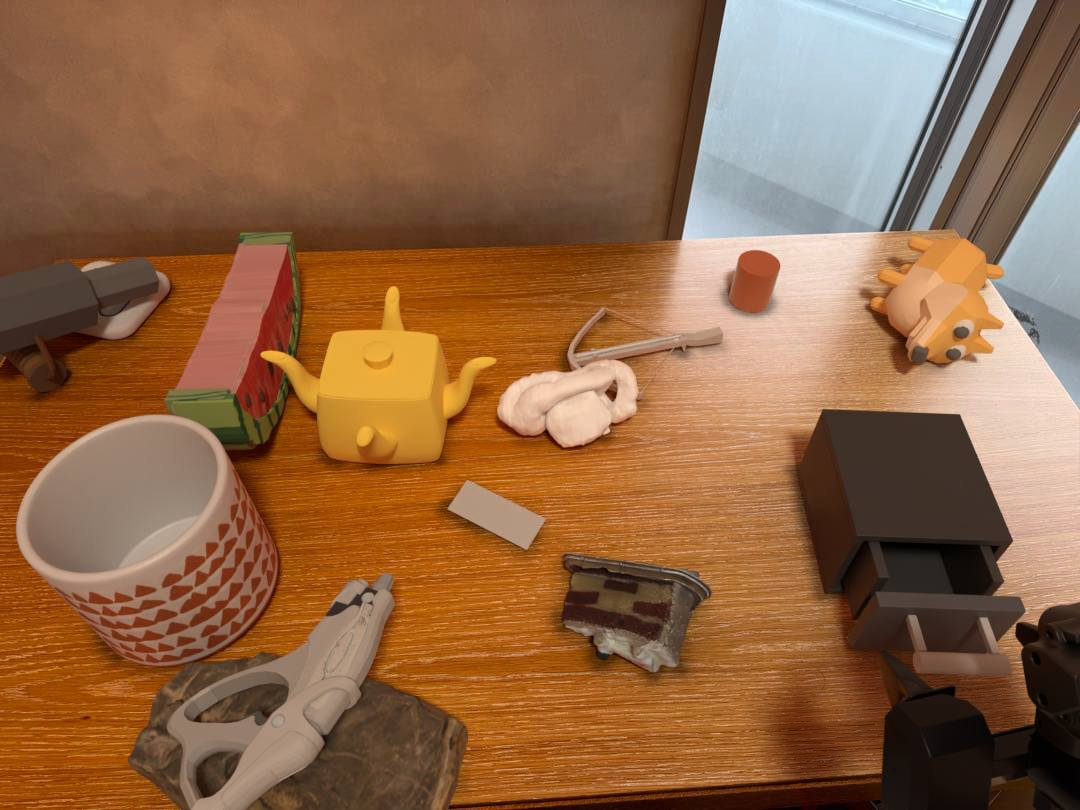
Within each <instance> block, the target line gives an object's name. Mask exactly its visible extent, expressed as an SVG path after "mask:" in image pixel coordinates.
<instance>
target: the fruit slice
mask: <svg viewBox="0 0 1080 810" xmlns="http://www.w3.org/2000/svg"><path fill="white" fill-rule="evenodd" d="M237 239H238V246H237V249H236V252H235V255H234V258H233V261H232V263H231V267H230V269H229V271H228V273H227V275H226V277H225V279H224V281H223V282H224V283H223V286H222V288H221V290H220V293H219V295H218V297H217V299H215V300H214V302H213V303H212V304H211V306H210V310H209V314H208V317H207V320H206V324H205V325H204V327H203V330H202V332H201V334H200V337H199V339H198V341H197V343H196V345H195V347H194V349H193V350H192V353H191V355H190V357H189V358H188V361H187V363H186V365H185V368H184V370H183V372H182V375H181V376H180V379H179V381H178V383H177V384H176V386H175V388H174V389H169V390H168V392H167V394H166V396H165V398H164V400H163V401H164V403H165V404H164V405H165V406H166V409H167V411H168V413H169V415H173V416H179V417H184V418H187V419H190V420H193V421H195V422H197V423H199V424H201V425H203V426H204V427H206V428H207V429H209V430H210V431H211V432H212V433H213V434H214V435H215V436H216V437H217V438H218V440H219V441H220V443H221V444H222V446H223V448H224V449H225V451H247V450H248V451H249V450H250V451H251V450H254V449H255V448H256V447H258V445H264V444H265V443H266V441H269V439H270V436H271V433H272V430H273V429H274V428H275V426H276V425H277V423H278V421H279V420H280V418H281V416H282V413H283V411H284V407H285V404H286V401H287V397H288V393H289V391H290V390H289V389H290V386H291V381H290V379H289V378H288V376H287V374H286V373H285V372H284V371H283V370H282V369H281V368H280V367H279V366H277V365H276V364H274V363H272V362H270V361H267V360H265V359H264V358H262V357H261V356H260V354H261V353H262V352H264V351H278V352H283V353H286V354H288V355H290V356H292V357H293V358H295V359H296V356H297V355H296V354H297V344H298V339H299V331H300V322H301V306H302V305H301V302H302V301H301V286H300V284H301V283H300V275H299V266H298V258H297V251H296V246H295V240H294V235H293V231H272V232H271V231H268V232H264V231H263V232H240V234H239V235H238V238H237Z"/></svg>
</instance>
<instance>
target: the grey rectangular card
mask: <svg viewBox="0 0 1080 810" xmlns="http://www.w3.org/2000/svg"><path fill="white" fill-rule="evenodd" d="M447 510H448V511H450V512H451V513H454V514H456V515H457V516H459V517H461V518H463V519H465V520H467V521H469V522H471V523H473V524H475V525H477V526H478V527H481V528H483V529H485V530H487V531H488V532H490V533H493V534H495V535H497V536H499V538H500V537H501V538H502V539H504V540H505V541H508V542H510V543H512V544H513V545H516V546H518V547H520V548H522V549H524V550H526V551H528V549H529V548H530V546H531V545H532V543H533V541H534V539H535V538H536V536H537V535H538V533H539V531H540V529H541V528H542V527H543V524H545V521H546V520H547V518H545V517H543V516H542V515H539V514H537V513H536V512H533V511H531V510H529V509H527V508H526V507H523V506H521V505H519V504H518V503H516V502H513V501H512V500H509V499H507V498H505V497H503V496H501V495H499V494H496V493H495V492H493V491H491V490H489V489H486V487H483V486H481V485H479V484H476V483H474V482H472V481H471V480H469V479H467V480H466V481H465V482H464V484H463V485H462V487H461V488H460V489H459V491H458V492H457V494H456V495H455V497H454V498H453V500H452V501H451V502H450V504H449V506H448V507H447Z"/></svg>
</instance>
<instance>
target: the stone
mask: <svg viewBox="0 0 1080 810" xmlns="http://www.w3.org/2000/svg"><path fill="white" fill-rule="evenodd" d="M278 658H280V657H279V656H276V655H274V654H272V653H269V652H265V651H259V652H258V653H257V654H256V656H253V657H252V656H251V657H250V656H249V657H248V656H246V657H242V658H238V659H233V658H230V659H226V660H221V661H216V662H202V661H195V662H191V663H188V664H184V666H183V667H182V668H181V669H180V670H179V671H177V673H176V674H175V675H174V676H173V677H172V678H170V679H169V680H168V681H167V682H165V683H164V684H163V685H162V686H161V688H160V689H159V690H157V692H156V694H155V696H154V698H153V700H152V704H151V707H150V716H149V720H148V724H147V725H146V726H145V727H144V728H143V729H141V731H140V732H139V734H138V735H137V738H136V740H135V742H134V745H133V748H132V750H131V753H130V755H129V756H128V757H127V763H128V765H129V766H130V767H131V769H133V771H135V772H136V773H137V774H139V775H141V776H142V777H144V778H145V779H147V780H148V781H149V782H151V783H152V784H153V785H154V786H155V787H156V788H157V789H158V790H160V791H161V792H162V793H163V794H165V796H166V797H167V798H168V799H169V800H170V801H171V802H172V803H173V804H174V805H175V806H177V808H179V809H180V810H190V808H189V806H188V803H187V801H186V799H185V796H184V794H183V792H182V789H181V787H180V770H181V762H182V757H183V747H182V744H181V743H180V742H178V741H177V740H176V739H174V738H173V737H172V736H171V735H170V733H169V732H168V730H167V723H168V720H169V718H170V717H171V715H172V714H173V713H174V712H175V711H176V710H177V709H178V708H179V707H180V706H181V705H183V704H184V703H185V702H186V701H187V700H189V699H190V698H192V697H193V696H194V695H196V694H197V693H199V692H200V691H201V690H203V689H205V688H207V687H209V686H210V685H212V684H214V683H216V682H218V681H220V680H222V679H224V678H226V677H228V676H230V675H233V674H235V673H237V672H240V671H243V670H246V669H249V668H252V667H254V666H258V665H261V664H265V663H268V662H271V661H274V660H276V659H278ZM359 690H360V692H361V697H360V698H359V700H358V701H357V703H356V704H355V705H354V706H352V707H351V708H349V709H347V710H344V712H343V713H342V715H341V716H340V718H339V719H338V721H337V722H336V723H335V725H334V726H333V728H332V729H331V731H330V732H329V734H327V735H321V737H322V738H323V740H324V742H325V744H324V746H323V747H322V749H321V750H320V752H319V753H318V755H317V757H316V758H315V759H314V761H313V762H312V763H310V764H309V765H308V766H306V767H305V768H304V769H302V770H300V771H298V772H297V773H295V774H293V775H291V776H289V777H287V778H285V779H284V780H282V781H281V782H279V783H278V784H276V785H275V786H273V787H271V788H270V789H269V790H268V791H266V792H265V793H264V794H263V795H262V796H261V797H259V798H258V799H257V800H256V801H255V802H253V803H252V804H251V805H250V806H249V807H248V808H247V809H246V810H449V809H450V805H451V802H452V800H453V798H454V795H455V792H456V789H457V785H458V781H459V774H460V771H461V768H462V765H463V762H464V756H465V753H466V750H467V747H468V741H469V733H468V729H467V726H466V725H465V724H464V723H462V721H460V719H457V718H456V717H454V716H452V715H451V714H448V713H447V712H445V711H444V710H441V708H438V707H436V706H435V705H433V704H431V703H430V702H427V701H425V700H423V699H421V698H420V697H419V696H417V695H414V694H411V693H409V692H405V691H402V690H400V689H397V688H396V687H395V686H392V685H391V684H388V683H385V682H381V681H377V680H374V679H371V678H369V677H367V676H366V677H365V679H364V681H363V682H362V684H361V686H360V687H359ZM288 693H289V688H288V687H287V686H285V685H282V684H274V683H270V684H262V685H257V686H254V687H251V688H248V689H245V690H242V691H239V692H237V693H234V694H232V695H229V696H227V697H226V698H224V699H222V700H220V701H218V702H216V703H215V704H213V705H212V706H210V707H208V708H207V709H205V710H204V711H202V712H201V713H200V714H199V715H198V716H196V717H195V718H194V721H193V722H198V723H233V722H238V721H241V720H242V719H243V718H244V717H246V716H248V715H250V714H252V713H254V712H256V711H261V713H262V714H263V716H265V717H267V718H268V717H270V716H271V714H272V713H273V712H274V711H276V710H277V709H278V708H280V707H281V706H282V705H283V704H285V702H286V700H287V697H288ZM242 755H243V753H238V752H220V753H216V754H213V755H211V756H210V757H208V758H207V759H205V760H204V761H203V762H202V763H201V764H200V765H199V767H198V769H197V770H196V784H197V786H198V788H199V790H200V792H201V794H202V796H203V798H207V797H211V796H213V795H215V794H216V793H217V792H218V791H220V790H221V789H222V788H223V786H224V785H225V784H226V783H227V782H228V781H229V779H230V778H231V777H232V775H233V774H234V772H235V770H236V768H237V766H238V764H239V761H240V759H241V757H242Z"/></svg>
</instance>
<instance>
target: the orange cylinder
mask: <svg viewBox="0 0 1080 810" xmlns="http://www.w3.org/2000/svg"><path fill="white" fill-rule="evenodd" d="M780 270H781V262H780V260H779V259H778V258H777V257H776V256H775V255H774V254H772V253H770V252H768V251H765V250H759V249H750V250H747V251H744V252H742V253H740V255H739V256H738V259H737V262H736V266H735V270H734V274H733V278H732V282H731V286H730V289H729V294H728V300H729V302H730V303H731V305H732V306H734V307H735V308H736V309H738V310H740V311H742V312H746V313H760V312H763V311H765V310H766V309H767V308H768V307H769V306H770V303H771V300H772V296H773V293H774V290H775V287H776V284H777V281H778V277H779V273H780Z"/></svg>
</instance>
